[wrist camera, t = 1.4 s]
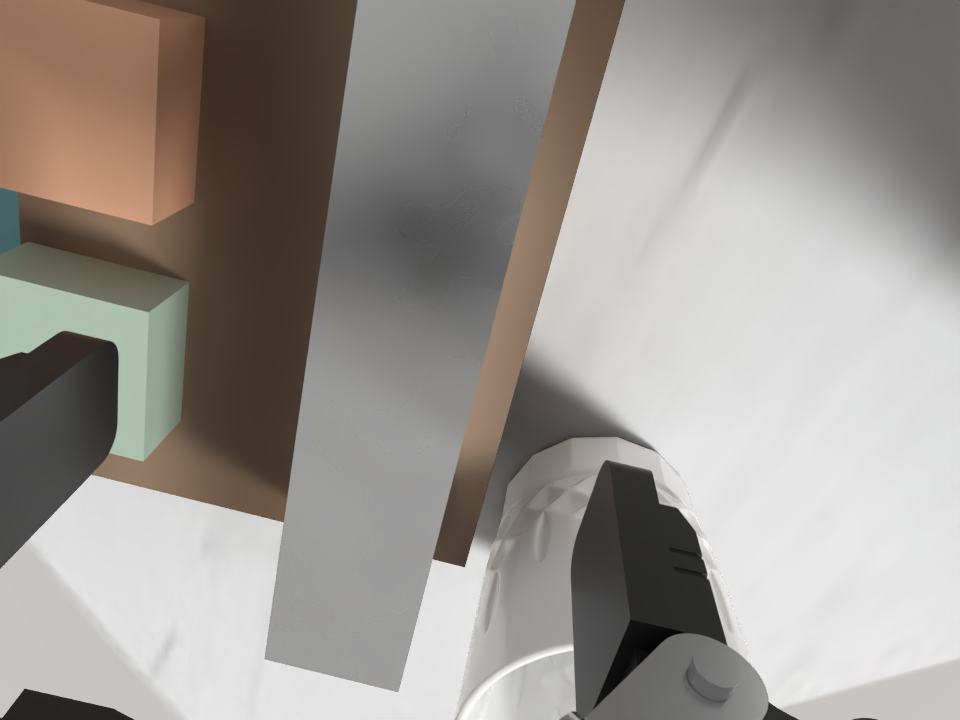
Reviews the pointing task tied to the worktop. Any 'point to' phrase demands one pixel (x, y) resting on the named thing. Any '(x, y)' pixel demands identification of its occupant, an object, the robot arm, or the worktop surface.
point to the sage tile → (104, 329)
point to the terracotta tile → (101, 104)
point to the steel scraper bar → (405, 313)
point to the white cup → (554, 582)
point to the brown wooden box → (304, 251)
